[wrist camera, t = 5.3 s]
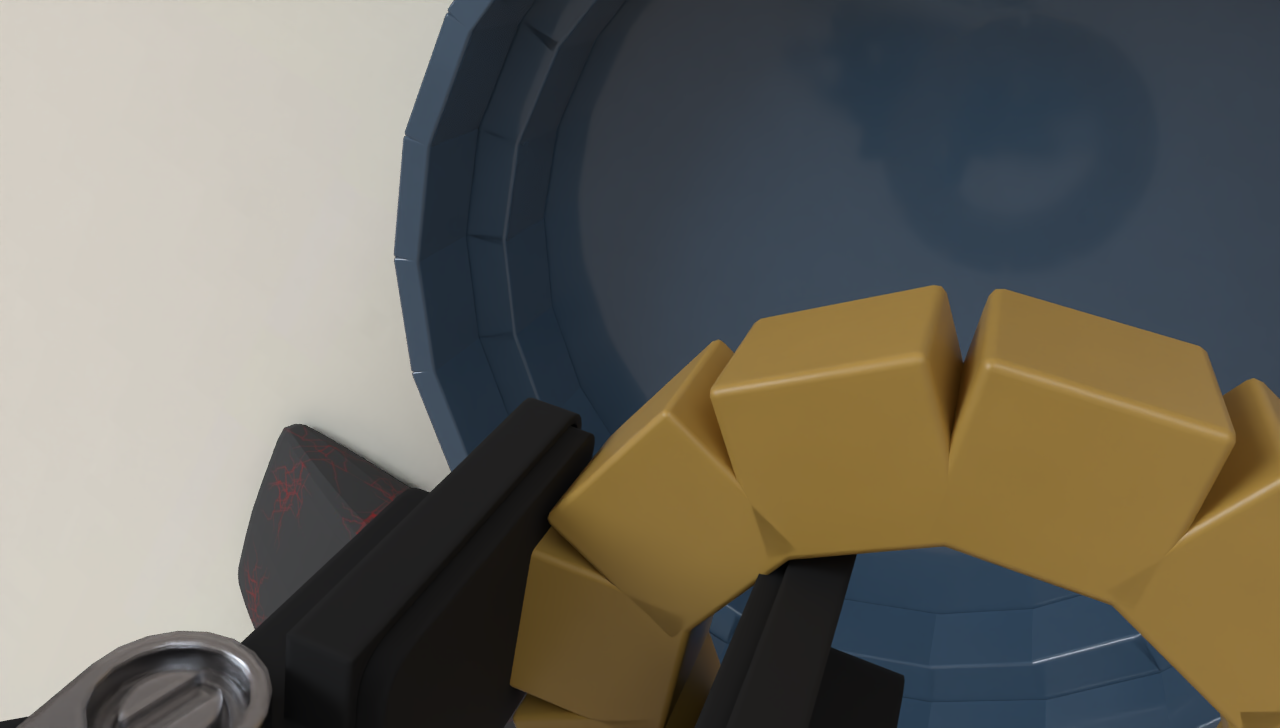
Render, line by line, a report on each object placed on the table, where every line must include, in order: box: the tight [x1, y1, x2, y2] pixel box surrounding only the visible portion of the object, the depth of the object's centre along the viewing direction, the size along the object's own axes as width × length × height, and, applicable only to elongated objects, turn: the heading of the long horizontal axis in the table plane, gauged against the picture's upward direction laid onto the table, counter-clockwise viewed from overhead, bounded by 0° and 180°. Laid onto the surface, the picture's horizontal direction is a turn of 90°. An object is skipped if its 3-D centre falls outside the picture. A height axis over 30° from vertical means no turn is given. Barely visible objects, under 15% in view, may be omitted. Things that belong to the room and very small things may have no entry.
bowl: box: [394, 0, 1280, 728], centre depth 20 cm, size 19×19×4 cm
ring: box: [510, 285, 1280, 728], centre depth 9 cm, size 8×8×2 cm
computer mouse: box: [238, 424, 527, 728], centre depth 28 cm, size 8×14×4 cm, turn 64°
